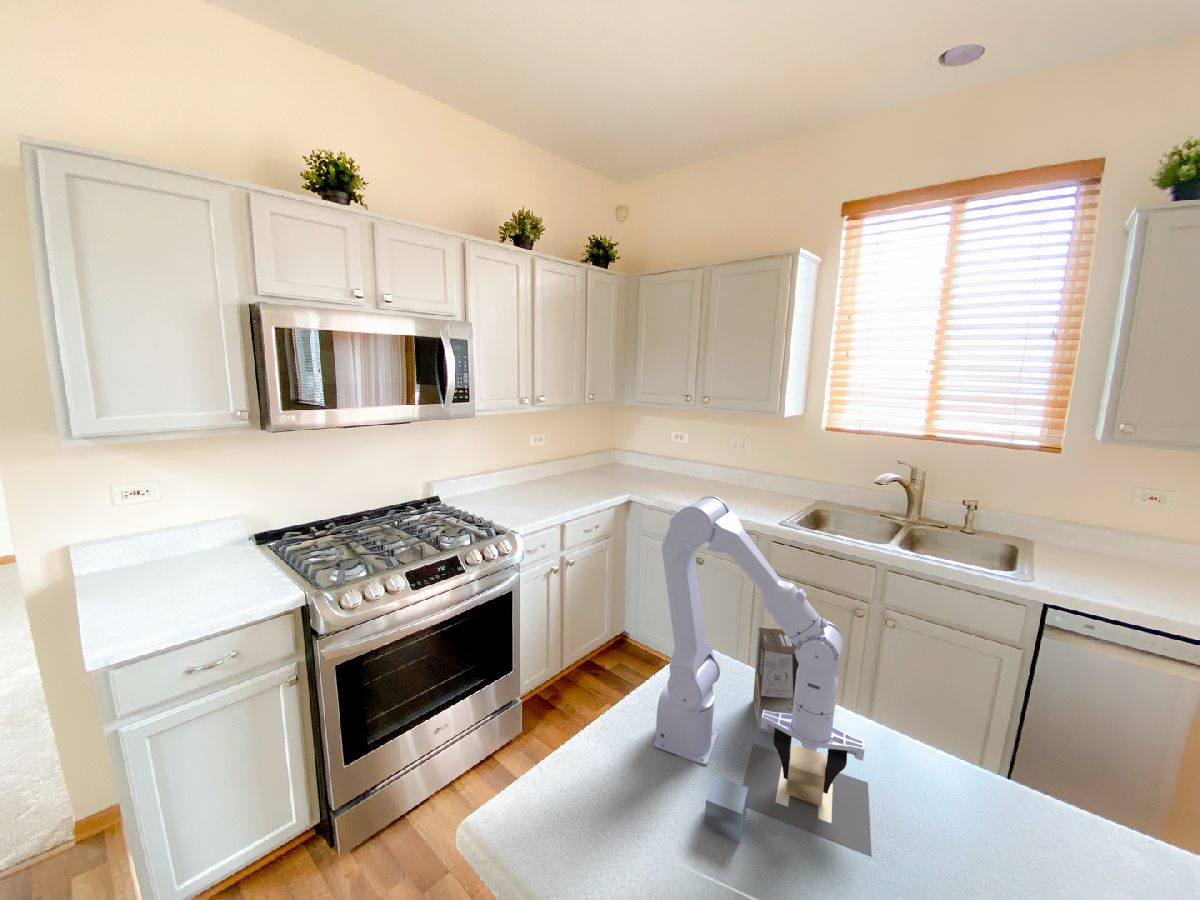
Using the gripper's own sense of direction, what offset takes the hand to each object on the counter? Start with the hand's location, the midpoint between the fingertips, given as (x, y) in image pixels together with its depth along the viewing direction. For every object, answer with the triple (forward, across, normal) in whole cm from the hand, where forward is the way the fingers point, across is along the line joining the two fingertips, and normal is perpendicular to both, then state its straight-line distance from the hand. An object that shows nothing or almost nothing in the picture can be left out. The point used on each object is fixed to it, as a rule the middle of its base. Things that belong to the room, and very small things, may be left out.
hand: (805, 781), depth 78 cm
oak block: (+1, 0, 0) cm, 1 cm away
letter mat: (+2, 0, 0) cm, 2 cm away
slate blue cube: (+2, -10, -11) cm, 15 cm away
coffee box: (+2, -7, +16) cm, 18 cm away
